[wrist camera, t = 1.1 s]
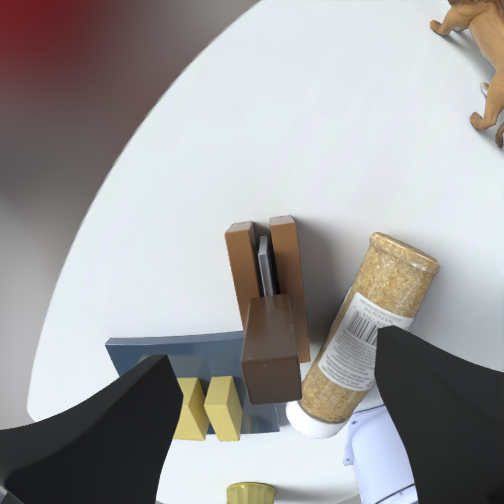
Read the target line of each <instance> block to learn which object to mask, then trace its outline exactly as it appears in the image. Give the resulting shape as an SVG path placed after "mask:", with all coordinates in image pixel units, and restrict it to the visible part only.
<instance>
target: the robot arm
mask: <svg viewBox="0 0 504 504" xmlns="http://www.w3.org/2000/svg"><path fill="white" fill-rule="evenodd" d="M374 377H375V380H376V383H377V386H378V389H379V392H380V395H381V398H382V400H383V402H384V404H385V406H381V407H378V408H374V409H370V410H366V411H362V412H358V413H354V414H352V416H351V418H350V419H349V423H348V432H347V441H346V448H345V455H344V462H343V463H344V465H345V466H348V465H353V466H354V470H355V474H356V479H357V483H358V488H359V493H360V498H361V502H362V504H504V372H500V371H496V370H492V369H489V368H486V367H483V366H480V365H477V364H474V363H471V362H468V361H466V360H464V359H461V358H459V357H457V356H454V355H452V354H450V353H448V352H446V351H444V350H442V349H440V348H438V347H436V346H434V345H432V344H430V343H428V342H426V341H424V340H422V339H421V338H419V337H417V336H415V335H413V334H411V333H409V332H408V331H406V330H404V329H402V328H400V327H398V326H395V325H390V326H386V327H382V328H378V329H377V345H376V357H375V368H374ZM183 398H184V395H183V392H182V390H181V388H180V385H179V383H178V380H177V378H176V376H175V373H174V371H173V368H172V365H171V363H170V360H169V358H168V355H167V354H152V355H151V356H149V357H147V358H146V359H144V360H143V361H141V362H140V363H138V364H137V365H136V366H134V367H133V368H132V369H130V370H129V371H127V372H126V373H125V374H123V375H122V376H121V377H119V378H118V379H116V380H115V381H114V382H112V383H111V384H110V385H108V386H107V387H105V388H103V389H102V390H100V391H99V392H97V393H96V394H94V395H93V396H91V397H90V398H88V399H87V400H85V401H83V402H81V403H80V404H78V405H76V406H74V407H72V408H70V409H68V410H66V411H64V412H62V413H60V414H57V415H55V416H52V417H49V418H47V419H44V420H42V421H39V422H36V423H32V424H29V425H26V426H21V427H17V428H11V429H4V430H0V485H1V486H2V487H3V488H4V489H5V490H6V491H7V492H8V493H7V494H6V496H5V495H4V494H3V493H2V492H0V504H155V501H156V494H157V489H158V484H159V479H160V474H161V471H162V467H163V464H164V461H165V459H166V456H167V453H168V450H169V447H170V445H171V442H172V439H173V436H174V434H175V431H176V428H177V425H178V422H179V419H180V414H181V409H182V404H183Z"/></svg>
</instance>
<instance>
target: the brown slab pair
mask: <svg viewBox="0 0 504 504" xmlns="http://www.w3.org/2000/svg"><path fill="white" fill-rule="evenodd" d="M270 229H271V236H272V242H273V248H274V255H275V262H276V268H277V275H278V282H279V289H280V294H288V295H289V299H290V305H291V311H292V317H293V323H294V329H295V336H296V342H297V348H298V355H299V363H304V362H310V350H309V338H308V327H307V316H306V306H305V296H304V287H303V278H302V270H301V261H300V253H299V246H298V238H297V231H296V223H295V222H294V220H293V219H292V217H291V216H290V215H286V216H279V217H273V218H270ZM225 240H226V245H227V251H228V256H229V261H230V266H231V271H232V276H233V281H234V286H235V291H236V296H237V301H238V306H239V310H240V315H241V320H242V325H243V330H244V334H245V329H246V323H247V316H248V310H249V303H250V299H251V298H257V297H265V294H264V288H263V282H262V276H261V270H260V264H259V258H258V252H257V246H256V240H255V234H254V228H253V222H252V221H248V222H241V223H235V224H232V225H231V227H230V228H229V229H228V230H227V231H226V232H225Z"/></svg>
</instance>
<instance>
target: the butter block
mask: <svg viewBox="0 0 504 504" xmlns="http://www.w3.org/2000/svg"><path fill="white" fill-rule="evenodd" d="M177 380H178V383H179V385H180V388H181V390H182V392H183V395H184V398H183V404H182V409H181V414H180V419H179V422H178V425H177V428H176V431H175V434H174V436H173V439H183V440H200V441H205V439H206V435H207V431H208V426H209V422H210V419H209V417H208V415H207V412H206V410H205V407H204V403H205V400H206V398H205V395H204V392H203V390H202V387H201V384H200V382H199V379H198V377H193V378H177Z"/></svg>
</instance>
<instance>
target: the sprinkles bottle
mask: <svg viewBox="0 0 504 504" xmlns="http://www.w3.org/2000/svg"><path fill="white" fill-rule="evenodd" d="M439 269H440V264H439V262H438V261H437V260H436V259H434V258H432V257H430V256H429V255H427V254H425V253H423V252H422V251H420V250H418V249H416V248H414V247H412V246H410V245H407V244H405V243H403V242H401V241H398V240H396V239H393V238H391V237H389V236H387V235H385V234H383V233H380V232H376V233H373V234H372V235H371V237H370V246H369V249H368V250H367V253H366V255H365V258H364V260H363V263H362V265H361V267H360V270H359V272H358V274H357V276H356V279H355V281H354V283H353V285H351V287H350V289H349V291H348V293H347V295H346V297H345V299H344V301H343V304H342V306H341V308H340V310H339V312H338V314H337V316H336V318H335V320H334V322H333V324H332V326H331V328H330V332H329V335H328V336H327V338H326V340H325V342H324V344H323V346H322V348H321V349H320V352H319V353H318V355H317V357H316V359H315V361H314V363H313V364H312V366H311V368H310V370H309V372H308V374H307V375H306V377H305V379H304V381H303V382H301V384H302V395H303V398H302V400H298V401H291V402H287V405H286V415H287V418H288V420H289V421H290V423H291V424H292V426H293V427H294V428H295V429H297V430H298V431H299V432H301V433H302V434H304V435H307V436H309V437H312V438H318V439H324V438H329V437H332V436H334V435H336V434H337V433H338V432H339V431H340V430H341V429H342V428H343V427H344V425H345V424H346V423H347V422H348V421H349V419H350V418H351V416H352V414H353V412H354V409H355V408H356V407H357V406H358V404H359V403H360V402H361V400H362V399H363V398H364V396H365V395H366V394H367V392H368V391H369V390H370V388H372V386H373V385H374V384H375V383H376V380H375V377H374V368H375V357H376V345H377V329H378V328H382V327H386V326H390V325H395V326H398V327H400V328H402V329H404V330H406V331H408V330H409V328H410V326H411V325H412V323H413V321H414V319H415V316H416V313H417V311H418V309H419V307H420V305H421V303H422V301H423V299H424V297H425V294H426V293H427V291H428V289H429V286H430V284H431V282H432V280H433V278H434V276H435V275H436V273H438V271H439Z"/></svg>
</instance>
